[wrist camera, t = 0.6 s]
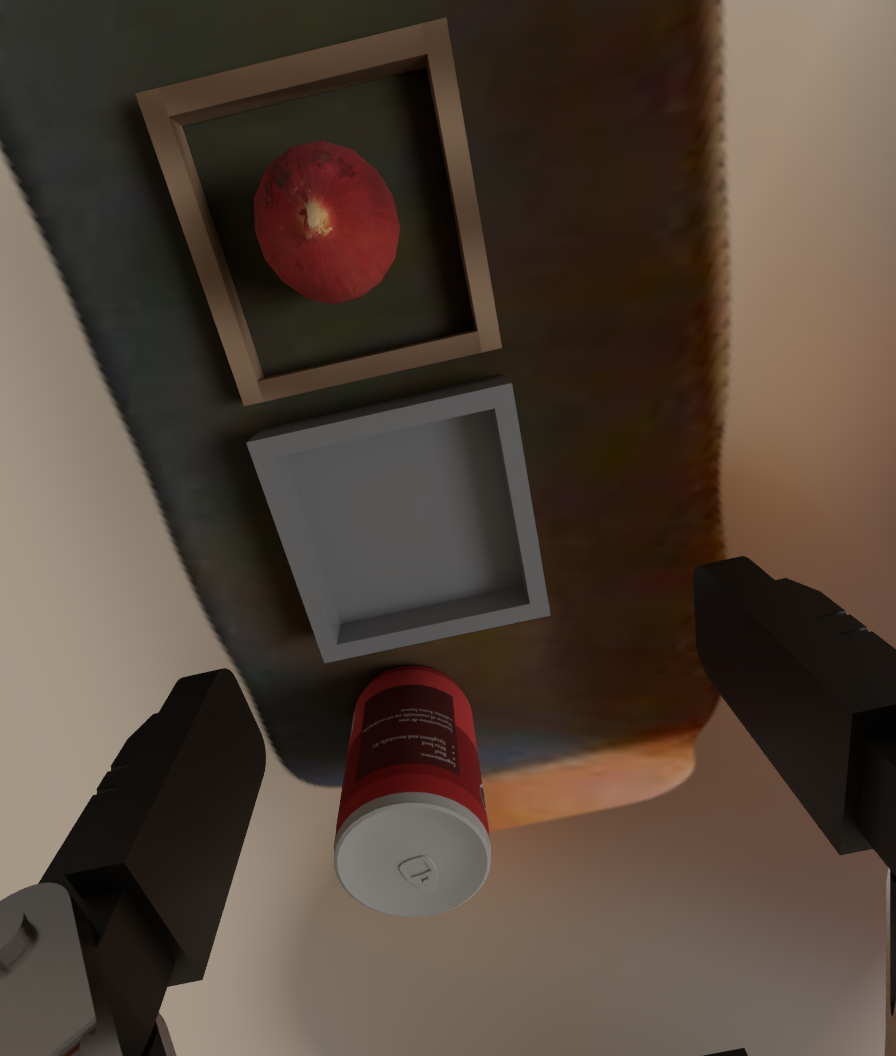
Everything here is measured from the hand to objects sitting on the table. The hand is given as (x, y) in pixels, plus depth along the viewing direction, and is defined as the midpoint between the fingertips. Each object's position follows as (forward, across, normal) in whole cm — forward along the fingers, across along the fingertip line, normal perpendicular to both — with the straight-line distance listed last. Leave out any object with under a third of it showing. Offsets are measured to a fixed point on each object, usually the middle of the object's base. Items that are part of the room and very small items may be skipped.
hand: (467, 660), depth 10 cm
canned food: (+22, +6, +19) cm, 30 cm away
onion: (+23, +2, -9) cm, 24 cm away
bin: (+22, +2, +6) cm, 23 cm away
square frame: (+22, +2, -9) cm, 24 cm away
